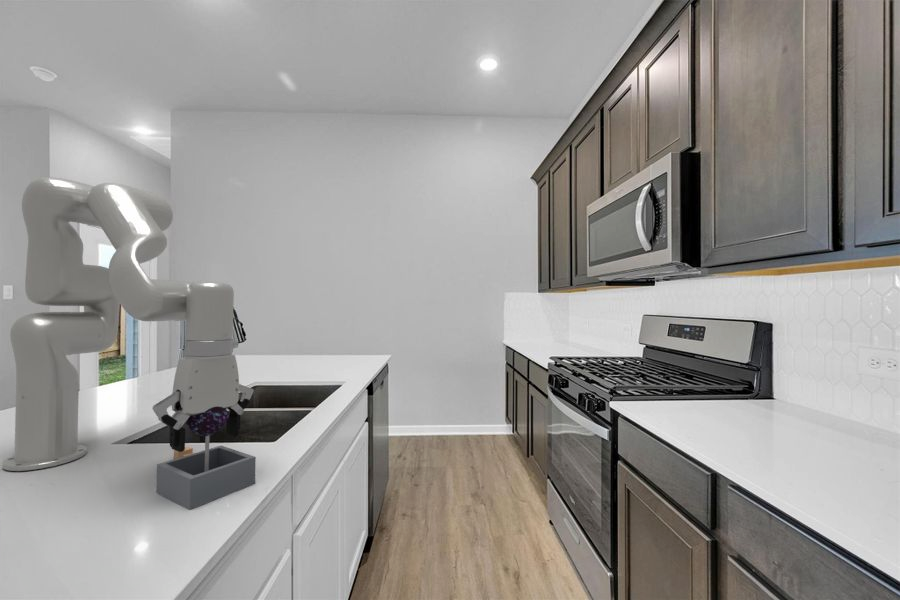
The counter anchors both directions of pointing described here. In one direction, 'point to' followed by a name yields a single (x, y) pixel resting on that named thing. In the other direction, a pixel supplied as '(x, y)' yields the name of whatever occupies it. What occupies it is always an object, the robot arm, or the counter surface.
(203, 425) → the lollipop
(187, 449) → the cable run
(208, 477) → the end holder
